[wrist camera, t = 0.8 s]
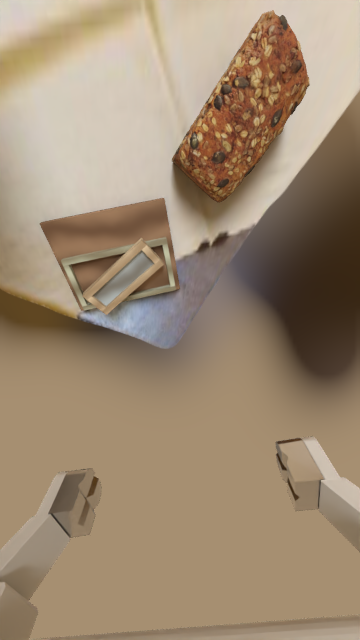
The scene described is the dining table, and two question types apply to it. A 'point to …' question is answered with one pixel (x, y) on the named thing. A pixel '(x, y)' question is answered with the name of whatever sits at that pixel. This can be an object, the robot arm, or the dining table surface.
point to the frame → (123, 277)
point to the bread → (245, 109)
